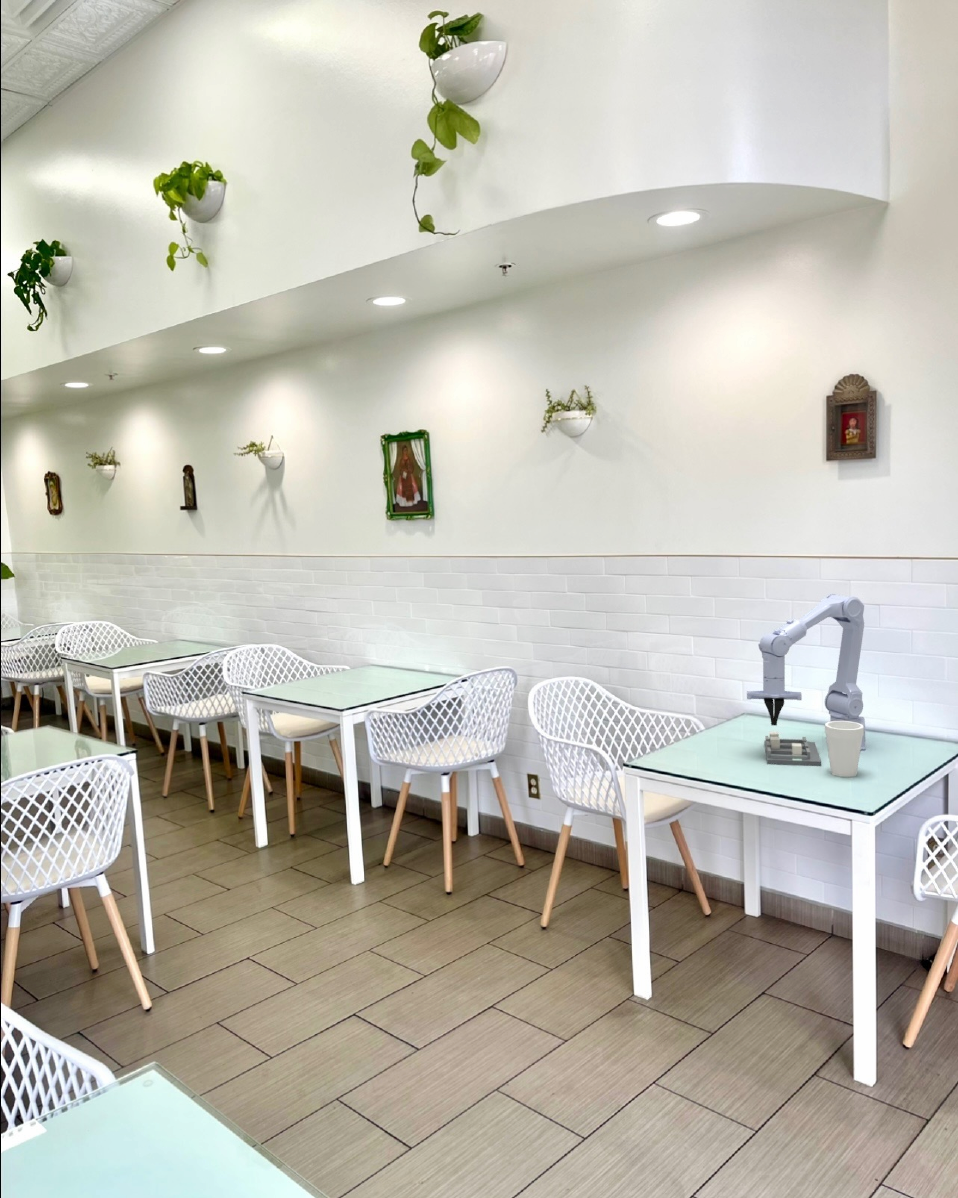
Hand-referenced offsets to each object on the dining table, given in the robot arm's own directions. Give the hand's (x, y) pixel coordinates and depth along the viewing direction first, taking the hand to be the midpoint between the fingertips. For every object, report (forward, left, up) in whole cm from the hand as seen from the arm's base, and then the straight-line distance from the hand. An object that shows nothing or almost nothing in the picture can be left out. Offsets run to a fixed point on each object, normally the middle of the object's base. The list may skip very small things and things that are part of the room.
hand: (773, 724), depth 265 cm
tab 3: (-6, +3, -8) cm, 10 cm away
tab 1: (-1, -9, -8) cm, 12 cm away
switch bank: (-5, -3, -9) cm, 11 cm away
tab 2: (0, -3, -8) cm, 9 cm away
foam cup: (-17, +13, -10) cm, 23 cm away
